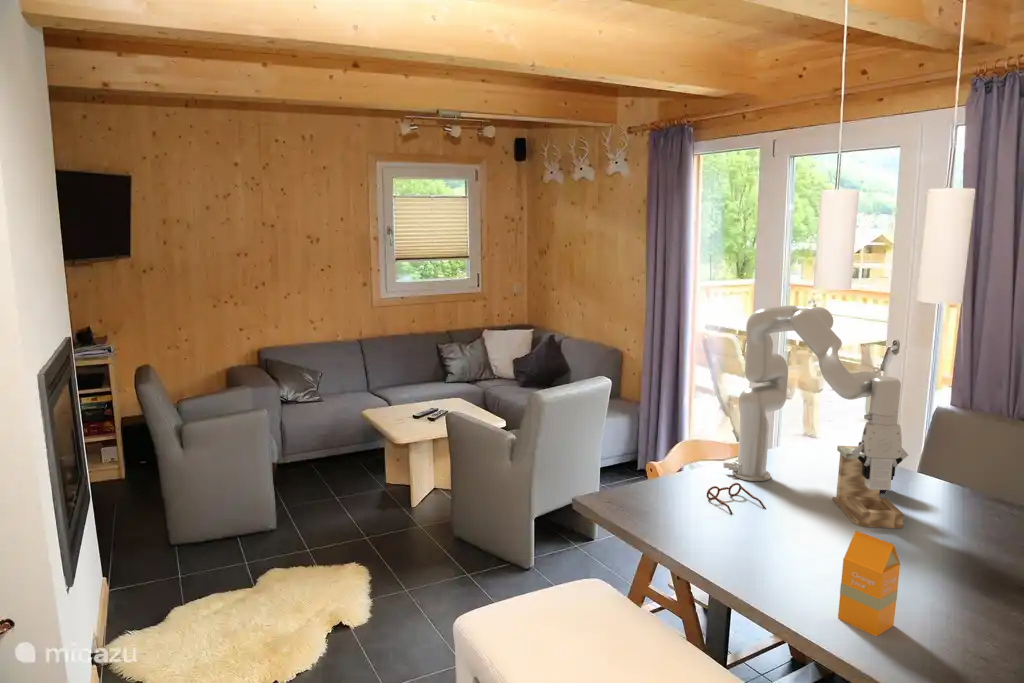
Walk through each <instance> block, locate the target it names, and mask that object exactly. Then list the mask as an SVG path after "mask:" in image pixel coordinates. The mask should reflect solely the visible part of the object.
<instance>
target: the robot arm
mask: <svg viewBox="0 0 1024 683" xmlns="http://www.w3.org/2000/svg"><path fill="white" fill-rule="evenodd" d="M833 325H834V317H833V314H832V313H831V312H830V311H829V310H828V309H826V308H824V307H822V306H821V307H820V306H806V305H805V306H802V305H781V306H770V307H768V306H767V307H763V308H760V309H758V310H755V311H754V312H753V313H752V314H751V315H750V316H749V317H748V319H747V322H746V330H745V332H746V334H745V335H746V345H745V346H746V348H745V362H744V374H745V378H746V379H747V381H749V383H750V382H751V383H752V384H761V385H755V386H752V387H751V386H750V387H748V388H745V389H744V390H743V391H742V392H741V393H740V395H739V397H738V408H739V420H740V421H739V436H738V451H737V452H738V453H737V459H735V462H734V461H733V462H723V463H722V464H723V469H728V471H732V472H731V473H732V475H733V476H734V477H736V478H738V479H741V480H743V481H747V482H749V481H750V482H765V481H768V480H770V479H771V473H770V472H769V471H768V470H767V465H768V464H767V460H768V447H769V435H770V434H769V433H770V432H769V431H770V424H769V421H768V417H767V413H770V412H775V411H779V410H780V409H782V408H783V407H784V405H785V403H786V401H787V400H786V399H787V394H788V393H787V392H788V379H789V367H788V363H787V361H786V359H785V358H784V356H783V355H781V354H779V353H776V352H773V350H774V343H773V338H772V335H771V334H773V333H774V334H775V333H782V332H783V333H784V332H792V331H793V332H795V333H796V334H797V335H798V336H799V337H800V339H801V340H802V341H803V342H804V343H805V344H806V345H807V347H808V348H809V349H810V350H811V351H812V353H814V355H815V356H816V358H817V359H818V365H819V369H820V372H821V376H822V377H823V379H824V380H825V382H826V383H827V385H829V386H830V387H831V389H832V390H833V391H834V392H835V393H836V394H837V395H838V396H840V397H841V398H843V399H844V400H851V401H852V400H857V399H860V398H861V399H862V398H868V397H870V400H869V402H870V403H869V411H868V413H867V414H864V415H863V419H864V420H867V421H866V422H865V424H864V428H863V431H862V436H861V441H860V442H861V444H860V445H859V444H858V445H859V446H858V447H857V448H855V449H854V450H853V451H852V453H853V454H854V455H855V456H856V457H857V458H858V459H859V460H860V461H861V463H862V475H863V476H864V477H865V478H866V479H869V477H870V466H869V463H870V461H871V458H879V459H893V463H892V476H891V481H893V480H894V477H895V476H896V474H895V473H896V468H897V467H898V465H899V464H900V463H902V462H903V460H905V459H906V458H907V457H908V456H909V454H908V452H907V451H906V450H905V449H904V448H903V446H902V444H903V437H902V426H901V425H900V424H898V419H899V410H900V399H901V390H902V389H901V388H902V385H901V384H902V383H901V381H900V379H898V378H897V377H892V376H885V375H884V376H883V375H879V374H877V373H874V372H870V371H865V370H864V371H859V372H852V373H850V371H848V369H847V368H846V367H845V366H844V365H843V363H842V361H841V360H840V357H839V350H840V349H841V348H842V345H843V342H842V340H841V338H840V337H839V336H838V335H837V334H836V333H835V332H834V331H833V329H832V327H833ZM860 452H862V453H864V456H863V457H862V456H861V455H860Z"/></svg>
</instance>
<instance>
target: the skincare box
mask: <svg viewBox="0 0 1024 683" xmlns="http://www.w3.org/2000/svg"><path fill="white" fill-rule="evenodd" d="M892 463H893V459H879V458H871V461H870V463H869V466H870V477H869V479H866V478H865V486H867V487H868V488H869V489H870V490H887V491H891V484H892V480H891V476H892Z"/></svg>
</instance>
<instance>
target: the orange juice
mask: <svg viewBox="0 0 1024 683" xmlns="http://www.w3.org/2000/svg"><path fill="white" fill-rule="evenodd" d="M849 542H850V543H849V545H848V547H847V550H846V552H845V554H844V557H843V560H842V570H841V581H840V588H839V601H838V602H839V603H838V611H837V612H838V613H837V619H838V620H840V621H842V622H844V623H846V624H849V625H851V626H852V627H855V628H857V629H859V630H861V631H863V632H866V634H867V633H868V634H869V635H872V636H874V637H877V636H879V635H881V634H882V633H884V632H885V631H887V630H889V629H890V628H892V627H894V624H895V616H896V606H897V600H898V591H899V590H898V588H899V587H898V586H899V579H900V569H901V562H900V559H899V556H898V553H897V550H896V547H895V545H894V544H893V543H890V542H888V541H885V540H882V539H879V538H876V537H874V536H871V535H868V534H866V533H863V532H860V531H857V530H854V533H853V535H852V538H851V540H850V541H849Z"/></svg>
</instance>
